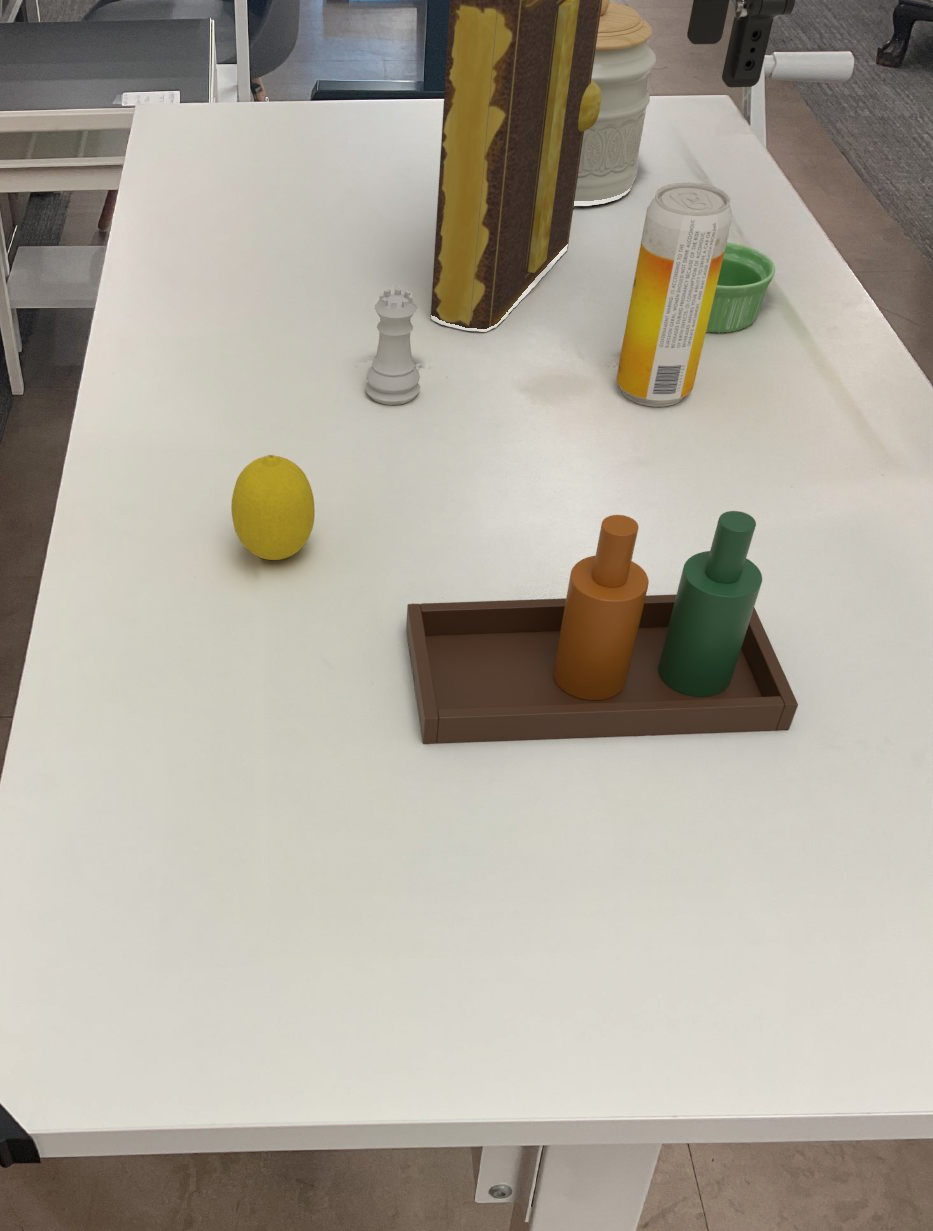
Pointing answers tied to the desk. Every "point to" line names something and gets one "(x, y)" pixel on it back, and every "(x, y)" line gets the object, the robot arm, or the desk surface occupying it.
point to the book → (509, 148)
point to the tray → (540, 710)
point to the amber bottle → (602, 615)
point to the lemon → (273, 508)
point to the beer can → (673, 292)
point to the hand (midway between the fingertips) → (720, 63)
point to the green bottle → (712, 611)
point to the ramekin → (740, 288)
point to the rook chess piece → (394, 351)
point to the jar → (616, 104)
